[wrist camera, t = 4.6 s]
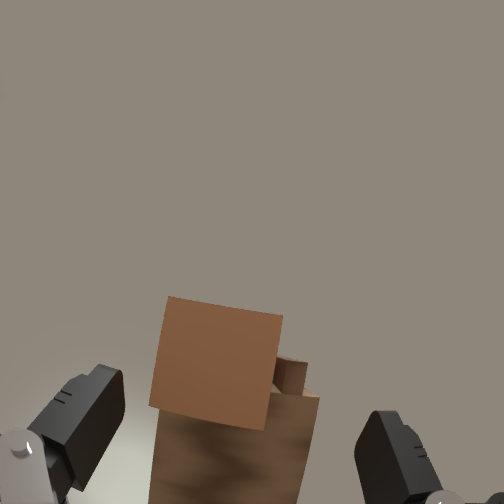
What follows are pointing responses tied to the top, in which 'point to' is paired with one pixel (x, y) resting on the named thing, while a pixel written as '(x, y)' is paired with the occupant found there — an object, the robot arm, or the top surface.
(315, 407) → the stand
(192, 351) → the bar
